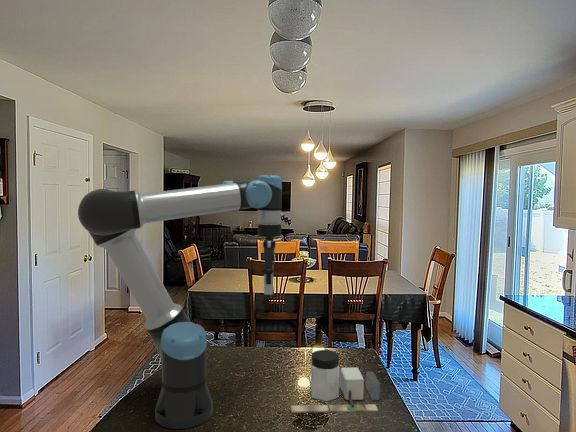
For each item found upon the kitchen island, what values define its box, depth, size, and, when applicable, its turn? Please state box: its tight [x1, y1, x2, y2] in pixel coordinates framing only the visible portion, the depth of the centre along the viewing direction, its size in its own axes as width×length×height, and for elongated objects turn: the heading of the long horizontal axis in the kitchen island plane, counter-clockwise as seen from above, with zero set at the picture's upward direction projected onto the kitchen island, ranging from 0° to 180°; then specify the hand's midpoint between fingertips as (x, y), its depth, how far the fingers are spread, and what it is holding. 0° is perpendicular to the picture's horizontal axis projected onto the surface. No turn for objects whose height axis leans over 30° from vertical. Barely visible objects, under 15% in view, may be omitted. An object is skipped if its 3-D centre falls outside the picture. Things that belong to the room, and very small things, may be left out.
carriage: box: [339, 367, 365, 407], centre depth 123 cm, size 5×13×6 cm, turn 3°
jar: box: [310, 349, 340, 402], centre depth 124 cm, size 9×8×12 cm
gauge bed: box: [290, 403, 379, 414], centre depth 116 cm, size 24×3×1 cm, turn 93°
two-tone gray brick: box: [365, 371, 381, 401], centre depth 125 cm, size 2×8×5 cm, turn 3°
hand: (268, 288), depth 136 cm, fingers open, 13 cm apart
